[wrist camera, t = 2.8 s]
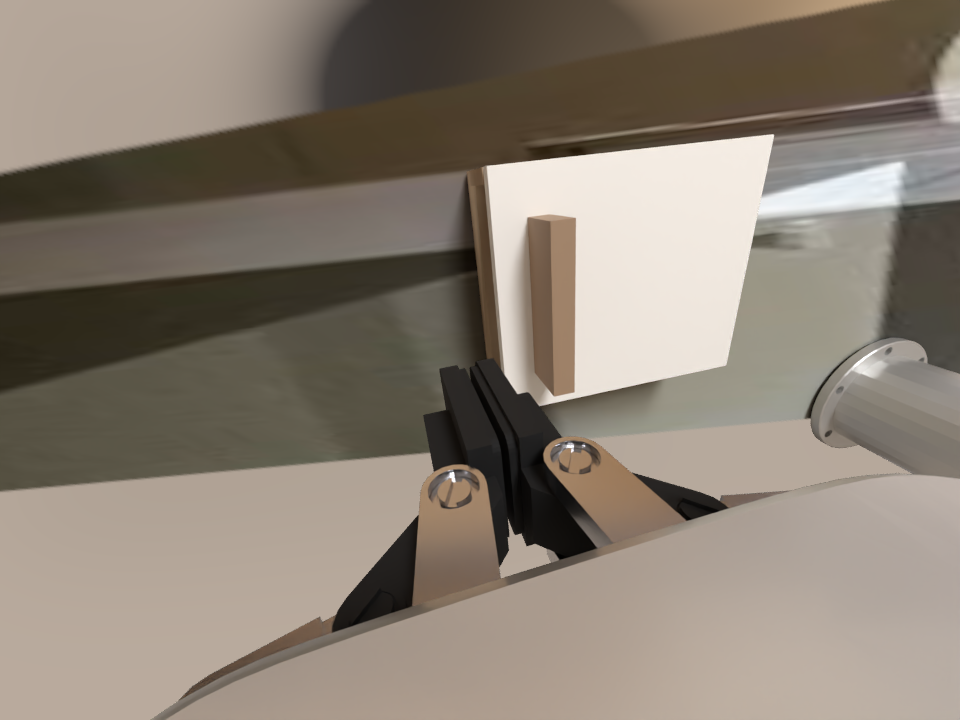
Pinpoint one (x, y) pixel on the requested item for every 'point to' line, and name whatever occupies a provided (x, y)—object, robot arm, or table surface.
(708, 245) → the sliding lid
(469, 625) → the robot arm
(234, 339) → the table surface
